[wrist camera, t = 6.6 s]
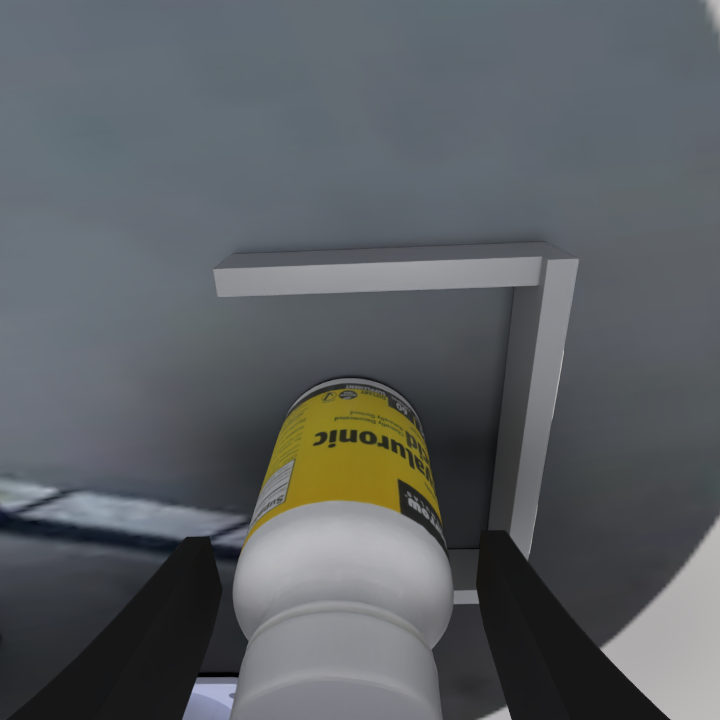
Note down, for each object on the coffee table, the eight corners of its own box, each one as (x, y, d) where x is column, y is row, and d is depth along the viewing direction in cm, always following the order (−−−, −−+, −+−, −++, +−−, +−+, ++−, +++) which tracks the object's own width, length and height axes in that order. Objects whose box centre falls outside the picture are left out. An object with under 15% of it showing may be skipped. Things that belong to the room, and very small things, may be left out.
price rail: (507, 561, 20) (524, 612, 17) (283, 565, 20) (273, 615, 18) (552, 241, 14) (586, 258, 12) (232, 253, 14) (208, 272, 12)
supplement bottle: (451, 416, 17) (549, 722, 8) (373, 508, 19) (379, 836, 10) (326, 345, 15) (270, 610, 6) (257, 452, 17) (142, 766, 8)
